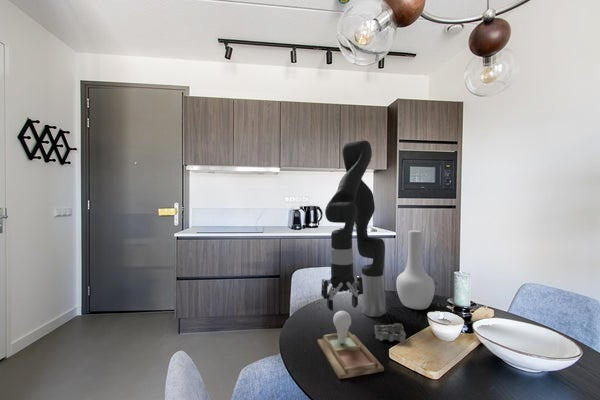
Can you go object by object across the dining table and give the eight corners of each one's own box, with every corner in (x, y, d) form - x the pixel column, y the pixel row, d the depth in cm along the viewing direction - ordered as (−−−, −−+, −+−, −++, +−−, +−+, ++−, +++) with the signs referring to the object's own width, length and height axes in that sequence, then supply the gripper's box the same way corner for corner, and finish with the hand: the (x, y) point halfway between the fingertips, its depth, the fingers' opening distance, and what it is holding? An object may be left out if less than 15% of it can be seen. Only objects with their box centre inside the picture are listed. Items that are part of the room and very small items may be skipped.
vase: (398, 310, 122) (398, 232, 122) (394, 296, 139) (394, 228, 138) (439, 313, 119) (439, 233, 118) (429, 299, 135) (429, 229, 134)
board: (354, 337, 99) (353, 330, 99) (383, 371, 80) (383, 362, 80) (317, 342, 96) (317, 335, 96) (339, 379, 76) (339, 370, 76)
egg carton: (403, 333, 102) (403, 323, 102) (406, 344, 95) (407, 332, 95) (373, 330, 104) (374, 320, 104) (375, 341, 97) (375, 329, 97)
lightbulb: (351, 349, 89) (351, 315, 89) (332, 347, 90) (332, 314, 90) (351, 340, 95) (351, 308, 95) (333, 338, 96) (334, 307, 96)
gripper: (356, 256, 97) (356, 301, 98) (318, 260, 94) (319, 306, 94) (366, 261, 90) (367, 310, 90) (325, 265, 86) (326, 316, 87)
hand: (342, 308), depth 92 cm, fingers open, 8 cm apart
